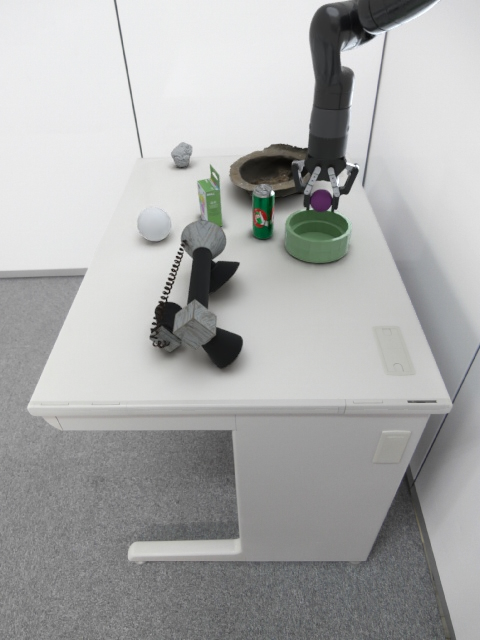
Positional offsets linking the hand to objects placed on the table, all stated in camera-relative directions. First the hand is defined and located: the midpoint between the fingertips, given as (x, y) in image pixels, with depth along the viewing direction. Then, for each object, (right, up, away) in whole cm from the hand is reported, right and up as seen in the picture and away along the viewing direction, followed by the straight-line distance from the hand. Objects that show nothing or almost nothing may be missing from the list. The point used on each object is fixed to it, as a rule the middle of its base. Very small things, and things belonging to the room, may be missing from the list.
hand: (320, 209), depth 96 cm
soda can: (-12, -4, +11) cm, 17 cm away
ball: (-38, -5, +11) cm, 39 cm away
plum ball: (0, +1, -1) cm, 2 cm away
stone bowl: (-8, +12, +28) cm, 31 cm away
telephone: (-25, -23, -10) cm, 36 cm away
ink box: (-25, +1, +16) cm, 30 cm away
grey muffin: (-35, +24, +41) cm, 59 cm away
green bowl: (0, -7, +7) cm, 10 cm away
